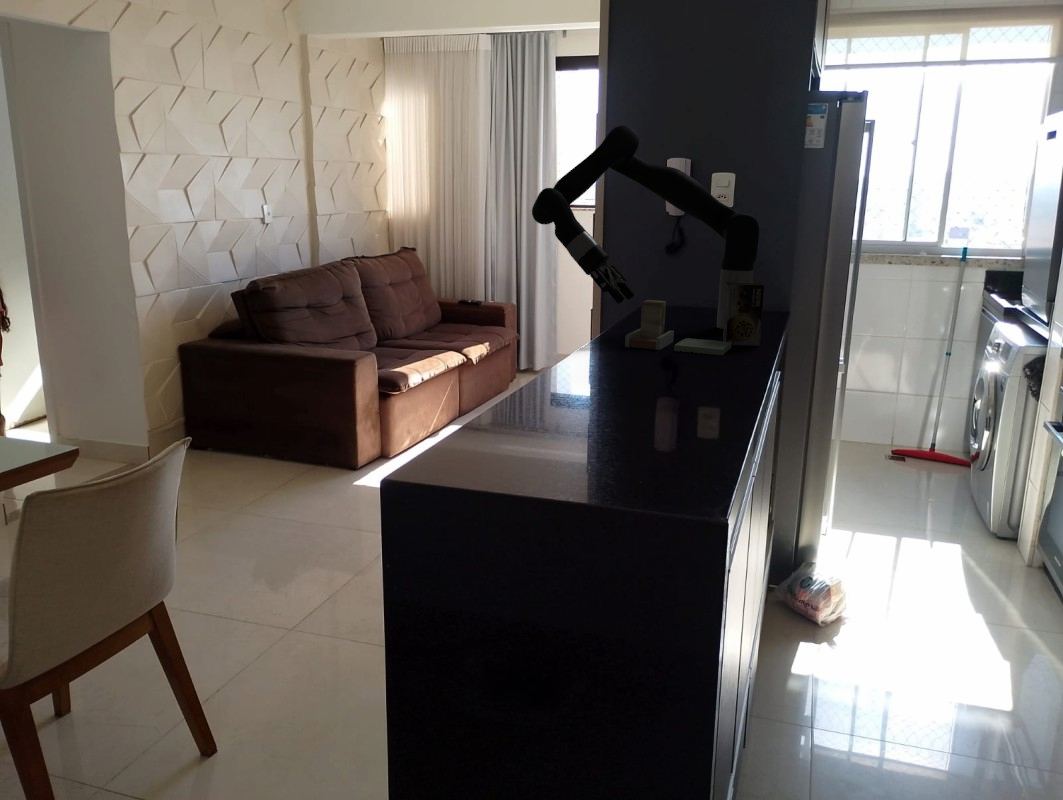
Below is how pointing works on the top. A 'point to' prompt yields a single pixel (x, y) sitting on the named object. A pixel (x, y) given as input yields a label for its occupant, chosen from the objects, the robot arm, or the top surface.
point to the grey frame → (648, 340)
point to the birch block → (652, 319)
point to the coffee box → (743, 313)
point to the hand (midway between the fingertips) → (626, 299)
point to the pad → (703, 346)
